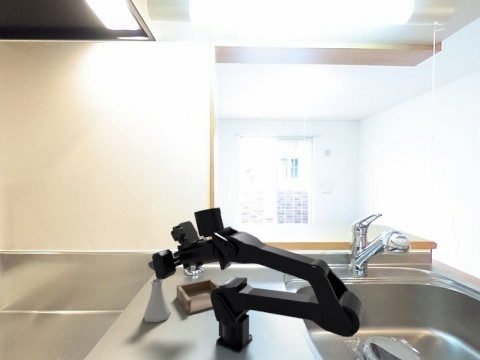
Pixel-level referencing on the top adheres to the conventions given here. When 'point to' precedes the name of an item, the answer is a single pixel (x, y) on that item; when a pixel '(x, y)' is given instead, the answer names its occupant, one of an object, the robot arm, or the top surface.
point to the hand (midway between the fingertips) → (162, 259)
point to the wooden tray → (196, 295)
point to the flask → (156, 304)
